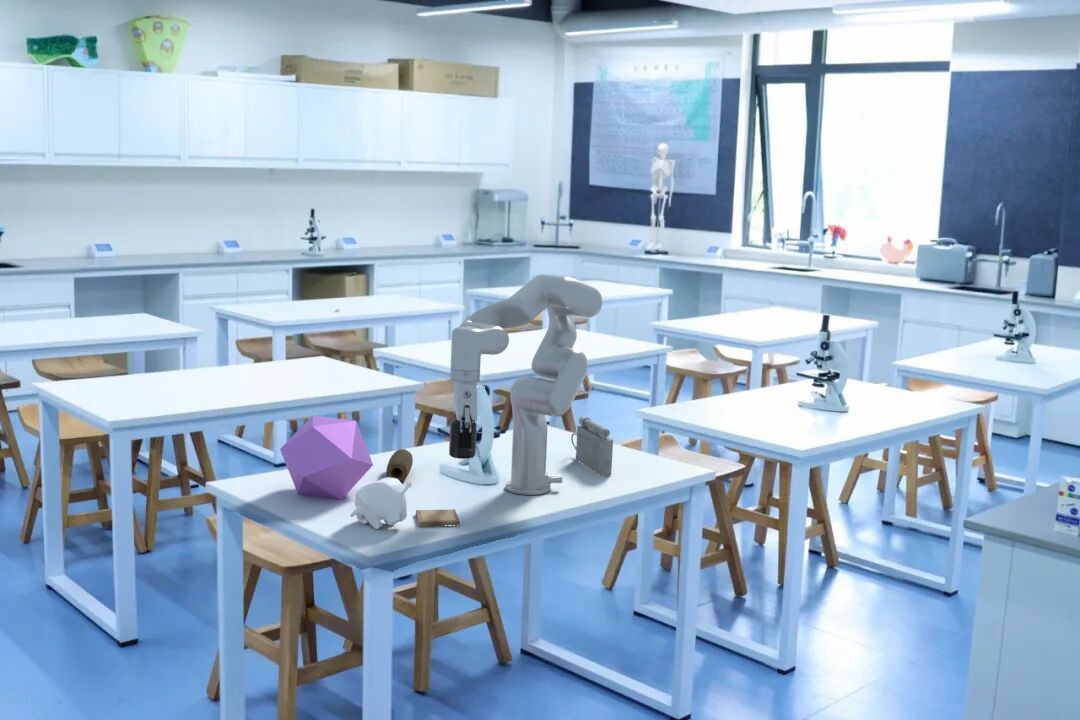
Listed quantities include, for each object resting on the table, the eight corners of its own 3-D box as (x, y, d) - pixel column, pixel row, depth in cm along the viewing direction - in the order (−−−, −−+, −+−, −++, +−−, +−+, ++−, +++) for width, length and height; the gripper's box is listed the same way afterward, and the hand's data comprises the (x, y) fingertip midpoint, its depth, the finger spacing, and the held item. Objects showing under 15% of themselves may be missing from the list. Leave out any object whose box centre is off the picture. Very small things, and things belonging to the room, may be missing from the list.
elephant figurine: (383, 530, 290) (365, 488, 291) (434, 505, 281) (415, 462, 282) (353, 543, 280) (333, 500, 281) (404, 519, 271) (384, 474, 272)
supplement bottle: (443, 455, 294) (444, 409, 292) (463, 451, 299) (465, 406, 297) (460, 460, 289) (462, 414, 287) (481, 456, 294) (482, 411, 292)
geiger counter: (617, 429, 333) (583, 411, 356) (597, 430, 331) (564, 412, 354) (615, 475, 336) (580, 454, 359) (595, 477, 333) (562, 455, 356)
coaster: (454, 513, 294) (454, 509, 293) (459, 526, 284) (459, 521, 284) (415, 514, 292) (415, 509, 291) (419, 527, 282) (419, 522, 282)
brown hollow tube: (388, 469, 334) (388, 446, 333) (412, 469, 334) (413, 447, 333) (385, 483, 319) (386, 460, 318) (411, 483, 319) (411, 460, 318)
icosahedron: (394, 476, 301) (364, 392, 309) (323, 489, 287) (293, 400, 295) (357, 509, 317) (329, 428, 324) (288, 522, 303) (261, 438, 310)
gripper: (484, 382, 283) (482, 452, 286) (475, 369, 300) (472, 436, 303) (454, 381, 282) (452, 452, 285) (446, 369, 298) (444, 436, 301)
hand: (462, 443), depth 294 cm, fingers closed on supplement bottle, 6 cm apart
